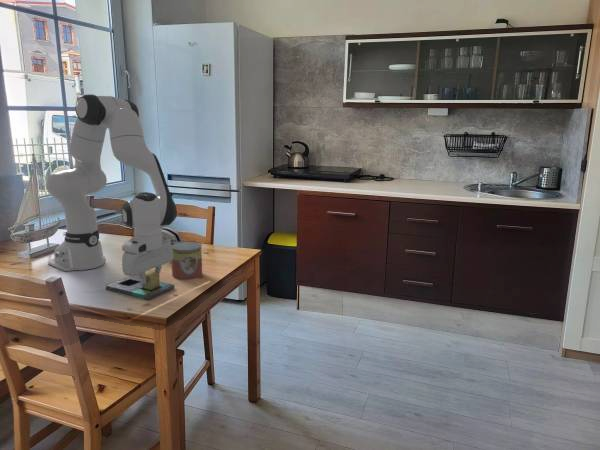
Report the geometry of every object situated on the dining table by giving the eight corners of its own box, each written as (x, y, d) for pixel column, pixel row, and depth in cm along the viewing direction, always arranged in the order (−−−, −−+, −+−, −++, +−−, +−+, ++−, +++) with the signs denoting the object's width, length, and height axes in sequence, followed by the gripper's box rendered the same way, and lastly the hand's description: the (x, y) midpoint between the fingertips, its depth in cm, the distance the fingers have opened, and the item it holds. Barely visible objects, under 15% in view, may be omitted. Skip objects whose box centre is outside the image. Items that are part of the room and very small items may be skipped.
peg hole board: (106, 290, 160) (105, 285, 160) (132, 280, 170) (132, 275, 170) (149, 301, 151) (149, 296, 151) (174, 290, 162) (174, 284, 161)
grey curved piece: (188, 247, 214) (181, 229, 210) (180, 252, 211) (173, 234, 207) (167, 241, 225) (160, 223, 220) (159, 245, 222) (152, 228, 217)
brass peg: (142, 289, 158) (141, 273, 156) (151, 286, 161) (150, 269, 160) (151, 292, 156) (150, 275, 154) (159, 288, 159) (158, 271, 158)
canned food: (174, 282, 169) (173, 251, 167) (170, 273, 179) (168, 243, 177) (205, 278, 174) (204, 248, 171) (199, 269, 184) (198, 240, 181)
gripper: (163, 233, 165) (164, 270, 168) (117, 247, 147) (120, 288, 150) (176, 236, 162) (178, 273, 165) (132, 250, 144) (135, 291, 148)
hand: (150, 280), depth 158 cm, fingers closed on brass peg, 4 cm apart
